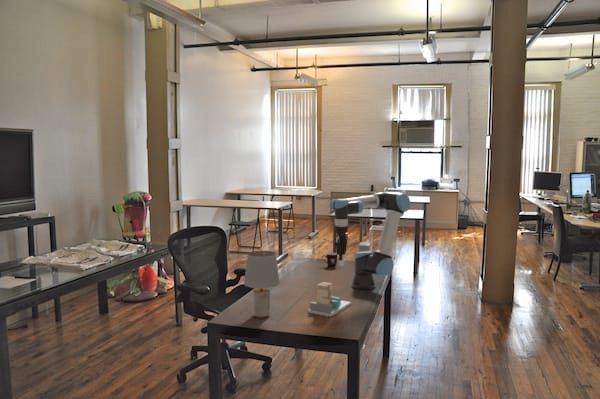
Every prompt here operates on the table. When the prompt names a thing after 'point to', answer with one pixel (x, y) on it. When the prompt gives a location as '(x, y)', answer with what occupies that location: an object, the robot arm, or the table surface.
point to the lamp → (261, 279)
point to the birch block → (324, 293)
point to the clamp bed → (334, 311)
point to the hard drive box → (364, 246)
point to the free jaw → (336, 302)
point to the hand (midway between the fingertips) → (341, 265)
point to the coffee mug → (331, 259)
